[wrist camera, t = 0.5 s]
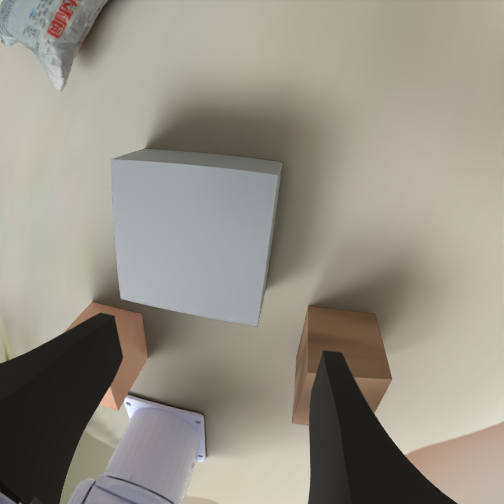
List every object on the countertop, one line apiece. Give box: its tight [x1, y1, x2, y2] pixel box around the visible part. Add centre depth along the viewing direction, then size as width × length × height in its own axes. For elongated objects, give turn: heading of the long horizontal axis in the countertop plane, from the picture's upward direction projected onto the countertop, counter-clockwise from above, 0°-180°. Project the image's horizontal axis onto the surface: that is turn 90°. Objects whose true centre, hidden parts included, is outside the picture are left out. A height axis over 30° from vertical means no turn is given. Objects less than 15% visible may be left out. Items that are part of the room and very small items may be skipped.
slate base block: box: [112, 149, 283, 327], centre depth 17 cm, size 8×8×4 cm
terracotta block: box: [64, 302, 148, 411], centre depth 21 cm, size 4×4×6 cm
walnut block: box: [292, 306, 392, 425], centre depth 18 cm, size 4×4×6 cm
